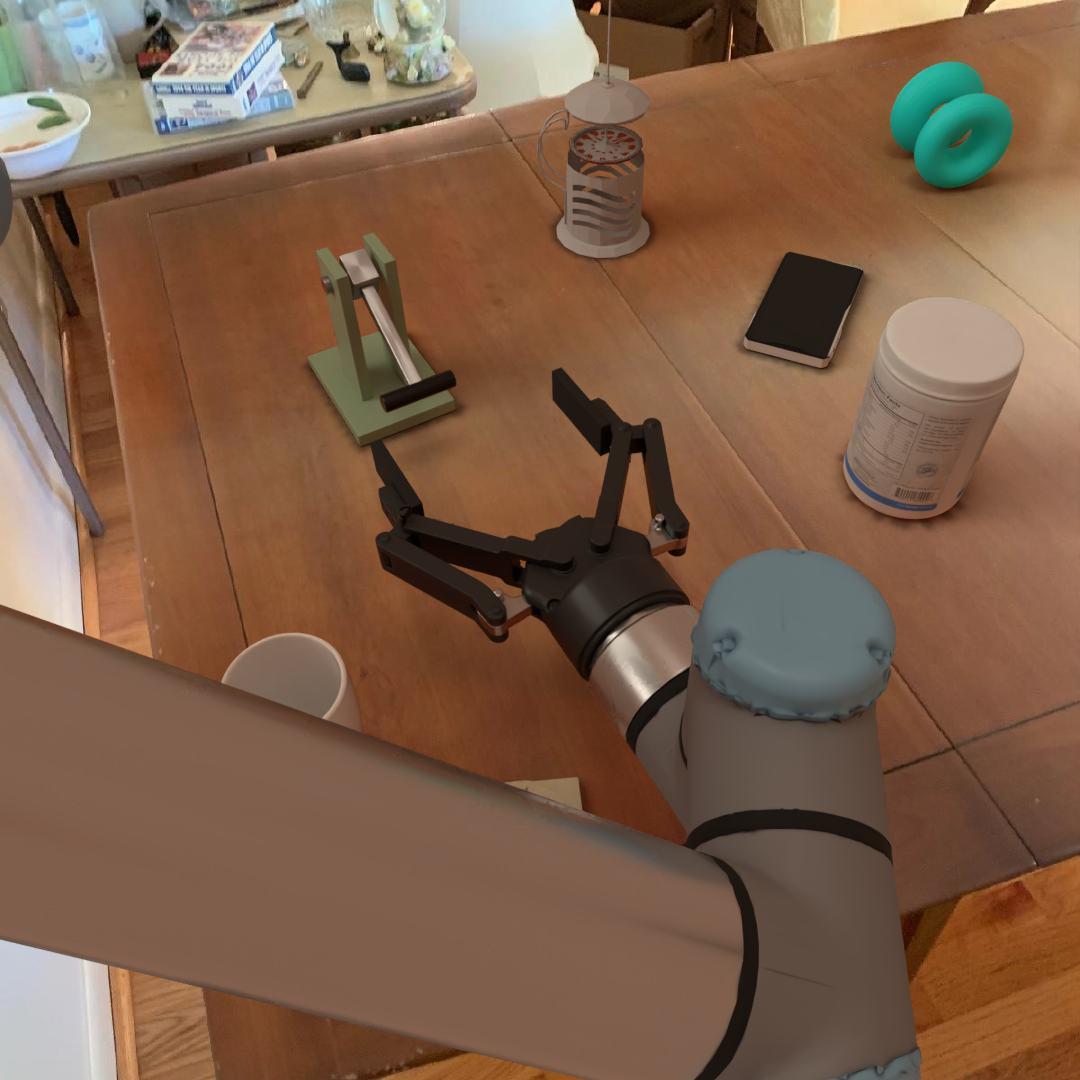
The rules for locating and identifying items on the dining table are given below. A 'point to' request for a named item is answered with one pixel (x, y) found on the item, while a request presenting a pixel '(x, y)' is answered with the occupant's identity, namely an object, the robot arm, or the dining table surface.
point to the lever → (391, 336)
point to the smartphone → (804, 310)
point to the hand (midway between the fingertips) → (469, 417)
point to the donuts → (951, 124)
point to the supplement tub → (930, 405)
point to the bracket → (369, 354)
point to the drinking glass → (298, 677)
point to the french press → (602, 168)
